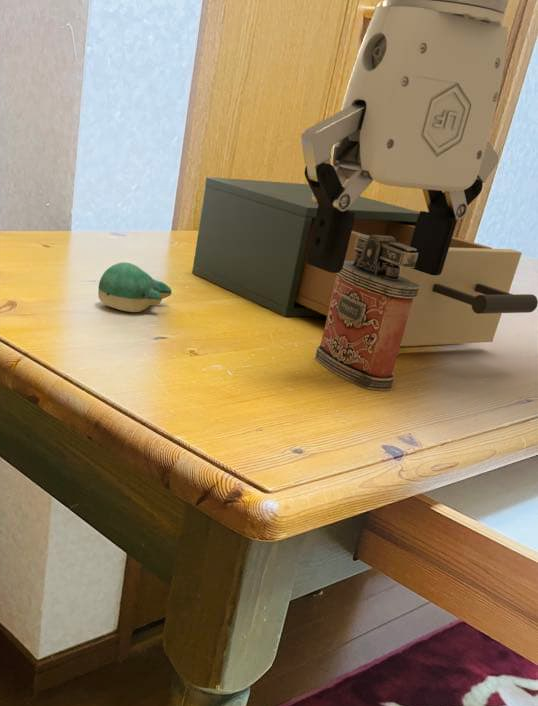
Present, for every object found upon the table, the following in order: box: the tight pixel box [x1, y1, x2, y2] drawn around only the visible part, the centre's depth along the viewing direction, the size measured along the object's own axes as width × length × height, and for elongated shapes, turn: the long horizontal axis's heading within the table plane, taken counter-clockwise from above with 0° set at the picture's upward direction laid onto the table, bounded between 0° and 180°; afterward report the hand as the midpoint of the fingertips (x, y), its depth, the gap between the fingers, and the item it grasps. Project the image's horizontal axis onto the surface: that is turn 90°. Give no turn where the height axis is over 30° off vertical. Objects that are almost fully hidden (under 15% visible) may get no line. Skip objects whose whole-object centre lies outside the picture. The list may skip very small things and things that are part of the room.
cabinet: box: [191, 176, 420, 318], centre depth 85 cm, size 17×15×10 cm
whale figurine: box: [97, 262, 172, 313], centre depth 74 cm, size 6×7×4 cm
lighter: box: [314, 235, 419, 391], centre depth 62 cm, size 8×3×10 cm, turn 22°
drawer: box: [295, 217, 538, 347], centre depth 74 cm, size 21×13×8 cm, turn 28°
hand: (374, 269), depth 61 cm, fingers open, 9 cm apart
